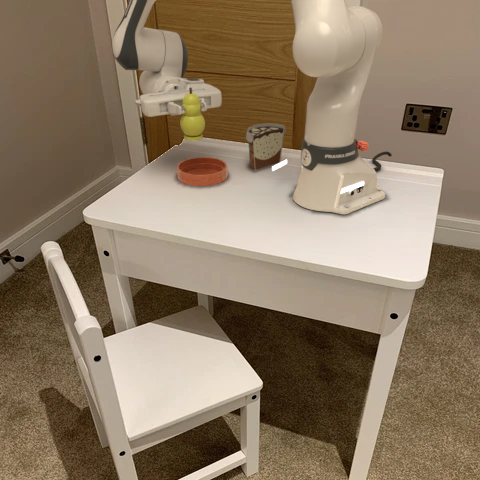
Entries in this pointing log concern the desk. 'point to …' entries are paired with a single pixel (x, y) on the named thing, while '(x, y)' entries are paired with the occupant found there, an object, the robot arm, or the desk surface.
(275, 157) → the food container
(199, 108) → the pear
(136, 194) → the desk surface
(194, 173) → the dish
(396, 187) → the desk surface
